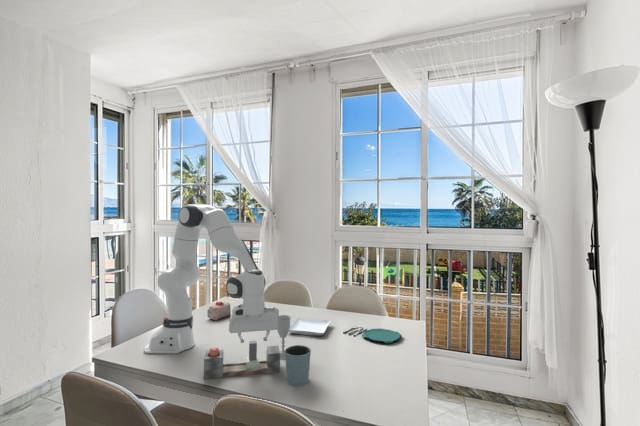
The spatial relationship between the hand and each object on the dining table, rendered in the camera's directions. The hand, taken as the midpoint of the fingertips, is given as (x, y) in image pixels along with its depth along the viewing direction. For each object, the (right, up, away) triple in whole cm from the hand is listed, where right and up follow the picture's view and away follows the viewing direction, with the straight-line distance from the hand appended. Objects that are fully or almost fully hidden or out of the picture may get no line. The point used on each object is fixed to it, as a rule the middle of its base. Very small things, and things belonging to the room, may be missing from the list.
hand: (253, 341), depth 144 cm
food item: (-35, -12, +70) cm, 79 cm away
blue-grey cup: (+19, -13, -8) cm, 24 cm away
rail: (-5, -12, -1) cm, 13 cm away
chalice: (+11, -12, +14) cm, 21 cm away
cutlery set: (+56, -14, +43) cm, 72 cm away
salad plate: (+22, -13, +50) cm, 56 cm away
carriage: (-1, -10, 0) cm, 10 cm away
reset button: (-16, -6, -3) cm, 17 cm away
